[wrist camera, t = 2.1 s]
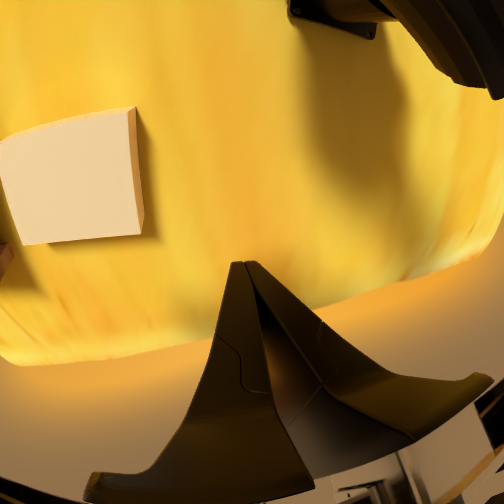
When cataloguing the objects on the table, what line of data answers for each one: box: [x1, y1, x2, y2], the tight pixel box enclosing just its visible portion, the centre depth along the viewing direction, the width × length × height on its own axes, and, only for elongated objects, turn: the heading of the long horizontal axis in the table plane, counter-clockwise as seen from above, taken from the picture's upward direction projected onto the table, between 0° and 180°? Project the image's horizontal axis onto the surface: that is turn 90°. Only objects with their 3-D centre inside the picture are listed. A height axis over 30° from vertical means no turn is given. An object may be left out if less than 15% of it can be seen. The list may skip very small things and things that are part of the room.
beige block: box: [0, 106, 145, 246], centre depth 14 cm, size 10×8×3 cm
